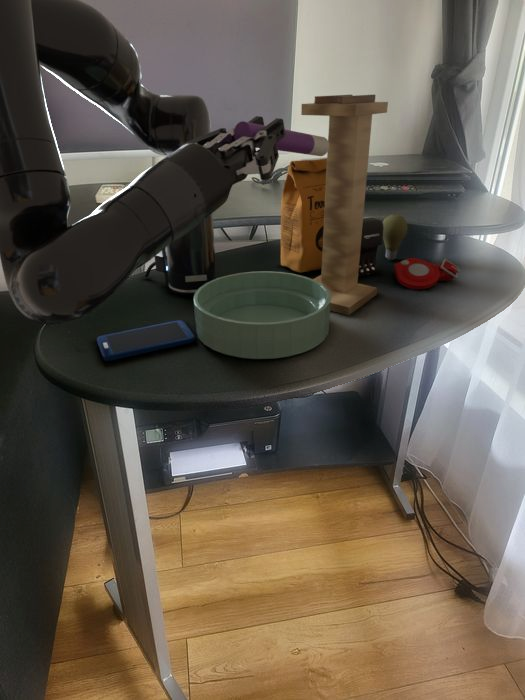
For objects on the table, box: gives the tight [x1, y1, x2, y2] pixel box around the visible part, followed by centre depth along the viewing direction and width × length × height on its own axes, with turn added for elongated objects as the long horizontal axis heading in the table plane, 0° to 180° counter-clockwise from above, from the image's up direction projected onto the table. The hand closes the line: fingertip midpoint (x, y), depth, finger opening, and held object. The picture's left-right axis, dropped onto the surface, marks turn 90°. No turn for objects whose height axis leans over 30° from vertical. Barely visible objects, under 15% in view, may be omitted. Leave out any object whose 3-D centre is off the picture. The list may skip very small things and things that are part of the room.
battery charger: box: [358, 216, 384, 278], centre depth 96 cm, size 7×4×11 cm, turn 116°
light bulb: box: [382, 213, 409, 262], centre depth 104 cm, size 6×6×10 cm
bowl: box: [192, 270, 331, 360], centre depth 76 cm, size 21×21×6 cm
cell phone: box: [96, 319, 196, 362], centre depth 74 cm, size 7×14×1 cm, turn 115°
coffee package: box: [280, 157, 327, 274], centre depth 98 cm, size 10×12×22 cm
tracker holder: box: [393, 257, 461, 290], centre depth 95 cm, size 12×4×10 cm
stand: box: [300, 94, 389, 316], centre depth 81 cm, size 12×11×33 cm
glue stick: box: [234, 120, 329, 157], centre depth 63 cm, size 18×3×3 cm, turn 141°
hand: (271, 125), depth 60 cm, fingers closed on glue stick, 2 cm apart
